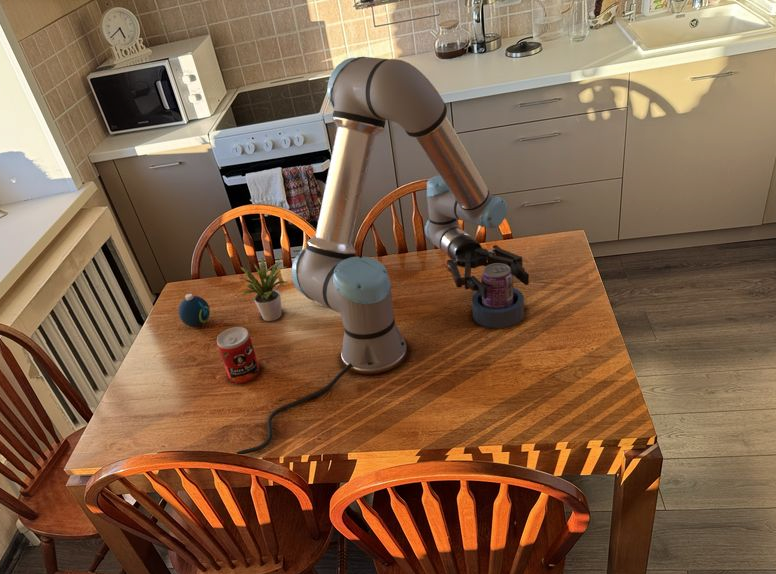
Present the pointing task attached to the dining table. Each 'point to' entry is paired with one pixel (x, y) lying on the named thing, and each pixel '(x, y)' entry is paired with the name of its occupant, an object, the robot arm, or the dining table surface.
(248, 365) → the canned food
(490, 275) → the beverage can
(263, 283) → the house plant
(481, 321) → the dark grey bowl
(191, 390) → the dining table surface
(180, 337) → the dining table surface
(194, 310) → the christmas ornament
